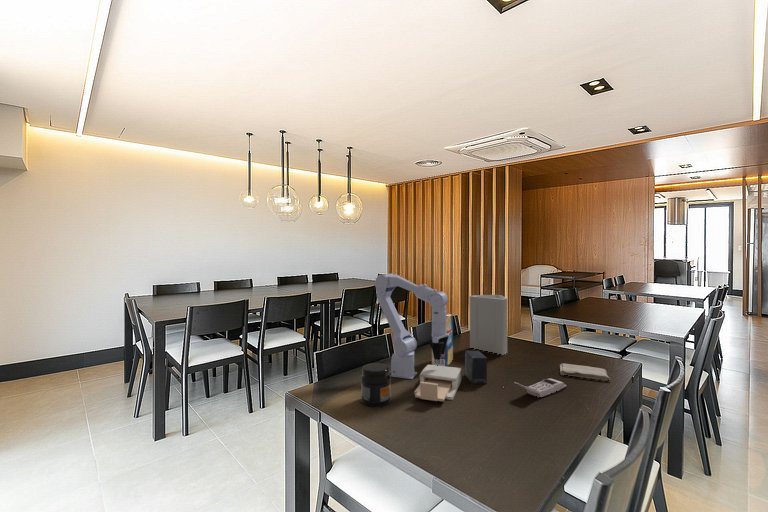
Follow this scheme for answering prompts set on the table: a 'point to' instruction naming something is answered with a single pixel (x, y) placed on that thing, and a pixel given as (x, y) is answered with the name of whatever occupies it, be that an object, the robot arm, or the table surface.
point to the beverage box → (448, 353)
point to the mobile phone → (544, 387)
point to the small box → (476, 367)
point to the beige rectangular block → (433, 390)
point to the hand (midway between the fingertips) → (439, 356)
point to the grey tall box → (488, 323)
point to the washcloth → (583, 371)
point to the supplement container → (375, 384)
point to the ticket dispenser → (442, 377)
